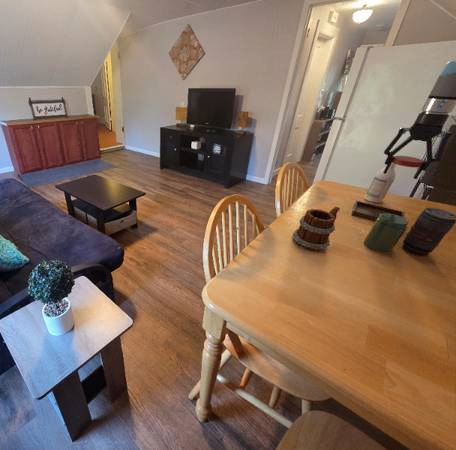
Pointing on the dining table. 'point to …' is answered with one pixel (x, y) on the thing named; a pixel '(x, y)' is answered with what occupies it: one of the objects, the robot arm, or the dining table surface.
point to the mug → (315, 229)
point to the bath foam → (381, 185)
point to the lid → (407, 161)
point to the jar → (386, 232)
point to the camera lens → (428, 231)
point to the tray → (372, 211)
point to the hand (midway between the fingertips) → (399, 175)
